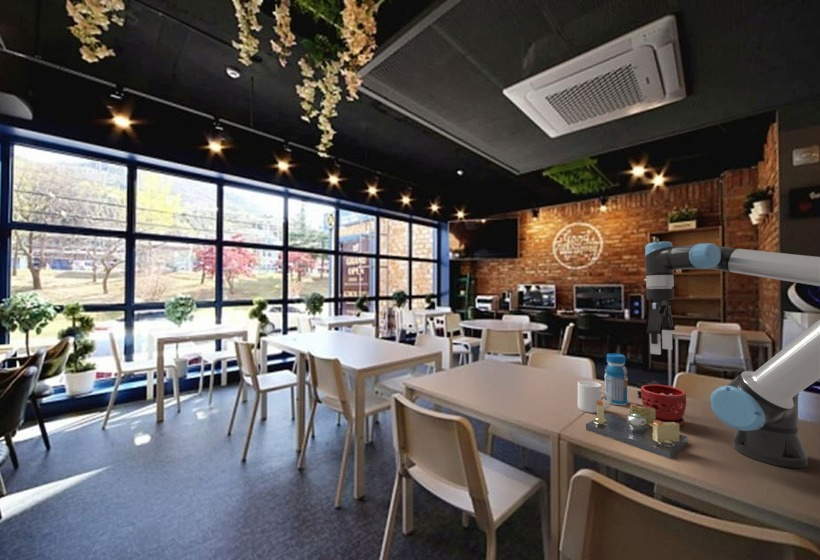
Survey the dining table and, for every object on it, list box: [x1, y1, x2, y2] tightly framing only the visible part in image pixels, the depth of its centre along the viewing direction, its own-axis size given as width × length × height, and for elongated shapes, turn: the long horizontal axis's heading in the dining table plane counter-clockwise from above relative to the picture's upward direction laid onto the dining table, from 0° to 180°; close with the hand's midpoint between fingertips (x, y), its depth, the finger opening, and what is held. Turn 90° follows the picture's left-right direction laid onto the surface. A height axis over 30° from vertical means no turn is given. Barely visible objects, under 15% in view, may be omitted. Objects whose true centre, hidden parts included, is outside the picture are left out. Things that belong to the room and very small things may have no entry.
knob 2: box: [652, 421, 680, 445], centre depth 104 cm, size 7×3×6 cm, turn 95°
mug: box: [577, 380, 612, 414], centre depth 135 cm, size 12×8×10 cm
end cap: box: [637, 379, 661, 400], centre depth 151 cm, size 10×7×7 cm
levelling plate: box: [585, 412, 689, 459], centre depth 113 cm, size 24×17×7 cm
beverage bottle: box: [603, 353, 629, 407], centre depth 145 cm, size 8×8×20 cm
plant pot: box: [640, 384, 687, 427], centre depth 125 cm, size 13×13×12 cm
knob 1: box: [594, 400, 606, 424], centre depth 119 cm, size 7×3×6 cm, turn 154°
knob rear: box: [629, 403, 655, 426], centre depth 117 cm, size 7×3×6 cm, turn 72°
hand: (661, 351), depth 115 cm, fingers open, 13 cm apart
